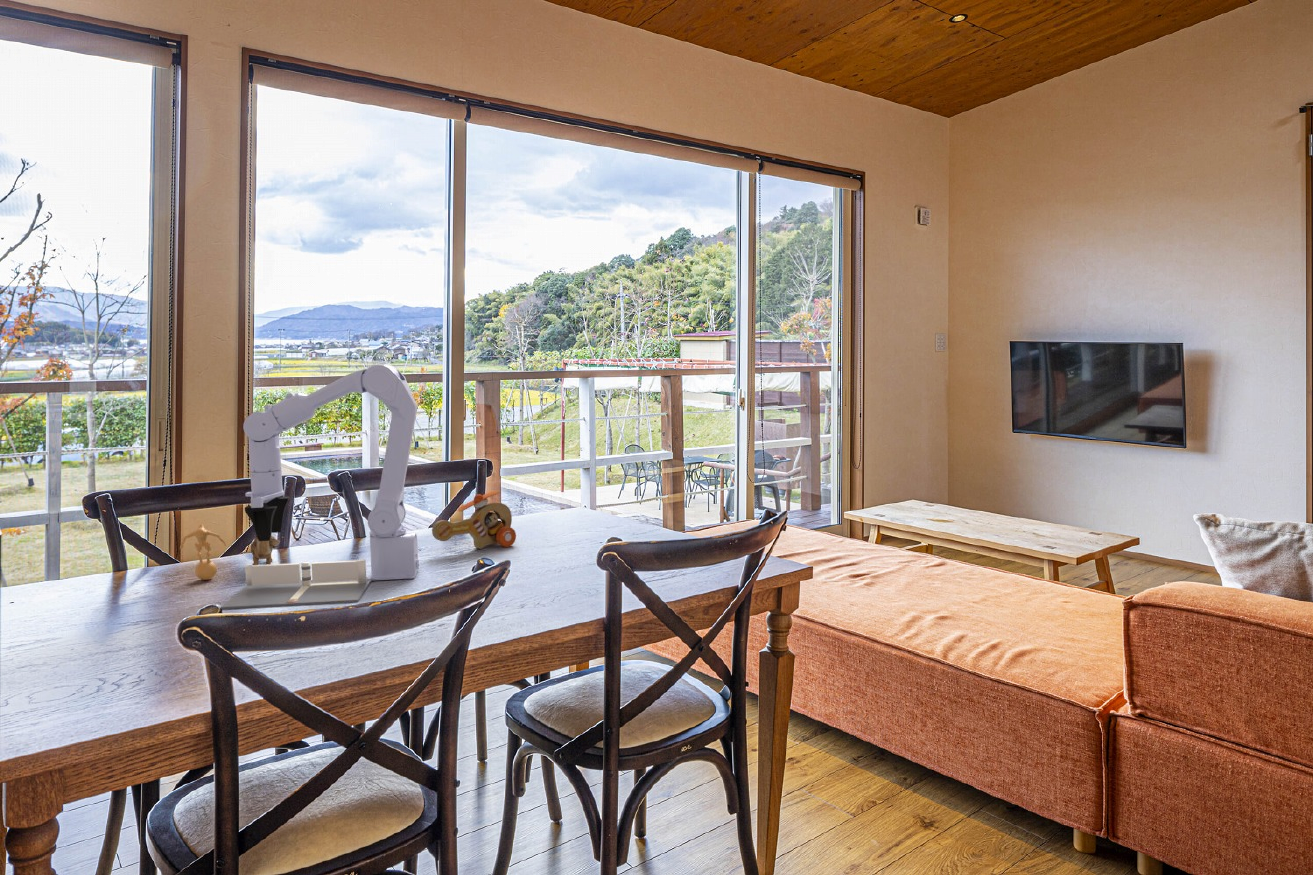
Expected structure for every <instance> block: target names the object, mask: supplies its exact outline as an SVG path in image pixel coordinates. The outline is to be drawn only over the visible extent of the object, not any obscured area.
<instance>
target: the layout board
mask: <svg viewBox="0 0 1313 875" xmlns="http://www.w3.org/2000/svg"><path fill="white" fill-rule="evenodd" d="M367 577H368V576H366V583H364V584H360V583H358V580H350V581H330V582H312V579H311V585H309V586H303V585H302V580H301V582H300V583H290V584H270V585H251V586H246V585H245V586H244V587H243V588H242V589H241V590H239V591H238V592H237V593H236V594H234V595H233V596H232V597H231V598H230V599H229V600H227V601H226V602H225V603H224V604H223V605H221V607H220V610H232V609H249V608H250V609H252V608H267V607H268V608H269V607H285V606H286V607H287V606H305V605H307V606H308V605H309V606H310V605H323V604H324V605H326V604H342V603H343V604H344V603H358V602H359V601H360V599H361V598H362V596H363V595H364V594H365V592H366V591H367V589H368V587H369V586H370V585H371V583H372V581H371V580H367Z"/></svg>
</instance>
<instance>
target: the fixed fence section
mask: <svg viewBox="0 0 1313 875" xmlns="http://www.w3.org/2000/svg"><path fill="white" fill-rule="evenodd" d="M366 565H367V563H366V559H357V560H339V561H336V560H335V561H319V562H315V561H313V562H311V561H304V562H301V563H300V570H301V581H302V585H303V586H309V585H311V580H312V582H330V581H350V580H358V583H360V584H364V583H366V577H367V566H366Z"/></svg>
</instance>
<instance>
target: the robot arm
mask: <svg viewBox="0 0 1313 875" xmlns="http://www.w3.org/2000/svg"><path fill="white" fill-rule="evenodd" d="M351 393H355V394H356V393H357V394H363V393H369V394H370V395H372V396H373V397H375V398H377V399H378V400H380V401H381V402H382V403H383V404H384V406H386V408H387V409H388V410H389V411H390V413H391V417H390V424H389V431H388V435H387V440H386V441H387V443H386V448H385V453H384V459H383V466H382V472H381V478H380V484H379V489H378V493H377V495H376V499H375V503H374V506H373V508H372V510H371V511H370V512H369V514H368V516H367V525H368V528H369V529H370V532H369V546H370V549H369V550H370V570H371V571H370V572H369V574H368V576H366V577H367V580H371V582H372V581H385V580H386V581H388V580H391V581H392V580H407V579H415V578H416V575H417V574H418V572H419V570H420V567H419V565H420V564H419V563H420V562H419V549H418V548H419V547H418V536H417V533H416V532H407V528H405V527H404V525H403V524H402V523H403V522H404V520H405V519H406V513H407V511H406V508H405V505H404V499H405V482H406V476H407V472H408V466H409V465H408V464H409V460H410V454H411V448H412V441H413V436H414V429H415V423H416V417H417V411H418V405H417V402H416V400H415V397H414V396H413V392H412V391H411V388H410V386H409V384H408V382H407V379H406V377H405V375H403V373H402V372H401V371H400V370H399V369H397V368H396V367H395V366H394V365H392V364H388V363H386V364H385V363H384V364H374V365H371V366H369V367H368V368H364V369H360V370H356V371H353V372H350V373H348V374H346V375H344V376H342V377H340V378H339V379H337V380H334V381H333V382H331V383H328V384H327V385H325V386H323V387H321V388H320V389H317V390H316V391H314V392H311V393H310V394H305V393H302V392H296V393H295V394H294V392H289V393H287V394H286V395H285V397H286V398H284V399H282V400H279V401H278V402H276V403H273V404H272V405H271V404H270V403H269V404H267V405H265V406H263V408H264V410H262V411H253V412H252V413H251V414H250V415H248V416H247V417H246V418H245V420H244V422H243V431H244V433H245V435H246V436H247V439H248V456H249V458H248V459H249V473H250V487H251V491H247V492H245V497H248V498H249V497H250V505H246V506H245V507H244V512H245V514H246V515H247V517H248V518H249V519H250V521H251V524H252V525H253V526H252V527H253V528H254V533H255V537H256V536H257V538H258V541H269V540H270V539H271V535H272V534H274V533H277V534H278V533H282V530H283V525H284V519H285V513H286V510H287V507H288V505H289V503H290V500H291V497H290V496H284V495H285V491H284V489H283V488H284V487H283V475H282V474H283V473H282V472H283V471H282V459H281V446H280V437H279V436H280V434H281V433H282V432H287V431H289V430H291V429H293V428H294V427H297V426H298V425H301V424H302V423H305V422H307V421H309V420H311V419H313V418H314V417H315V414H316V411H317V409H319V408H321V407H323V406H324V405H327V404H330V403H331V402H334V401H336V400H338V399H341V398H343V397H345V396H347V395H349V394H351Z"/></svg>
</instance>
